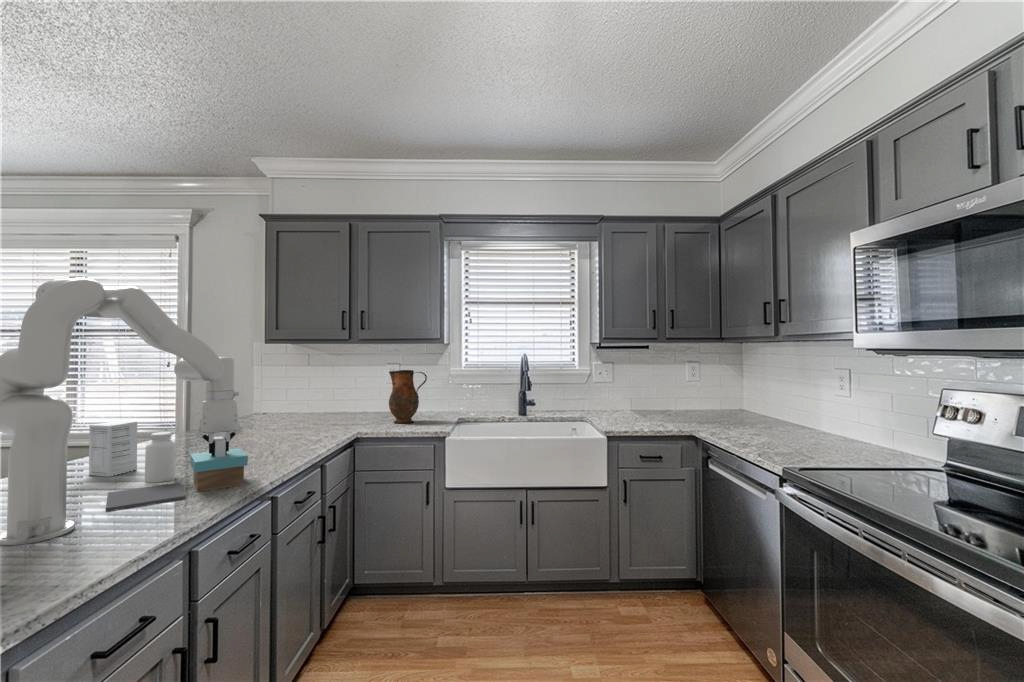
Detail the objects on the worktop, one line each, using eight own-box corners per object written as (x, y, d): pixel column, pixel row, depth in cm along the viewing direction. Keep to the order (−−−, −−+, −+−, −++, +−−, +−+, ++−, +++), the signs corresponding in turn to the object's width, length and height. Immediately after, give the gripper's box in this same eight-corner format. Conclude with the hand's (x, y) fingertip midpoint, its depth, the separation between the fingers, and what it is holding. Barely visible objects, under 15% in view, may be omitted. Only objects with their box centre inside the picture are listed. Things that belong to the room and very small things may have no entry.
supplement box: (138, 470, 163) (138, 421, 164) (109, 477, 155) (110, 425, 155) (116, 468, 166) (117, 420, 166) (87, 475, 157) (88, 424, 157)
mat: (184, 498, 134) (185, 495, 134) (105, 511, 123) (105, 508, 123) (180, 484, 147) (180, 482, 147) (108, 495, 136) (108, 492, 136)
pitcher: (389, 420, 277) (390, 369, 278) (426, 420, 281) (426, 369, 281) (387, 425, 261) (387, 370, 261) (426, 424, 265) (426, 370, 265)
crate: (243, 484, 148) (244, 458, 148) (197, 491, 140) (198, 464, 140) (236, 476, 157) (237, 452, 157) (193, 482, 149) (193, 457, 150)
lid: (247, 465, 148) (248, 439, 148) (194, 472, 139) (195, 445, 139) (239, 457, 158) (240, 433, 158) (190, 463, 150) (190, 437, 150)
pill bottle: (159, 484, 147) (160, 435, 148) (138, 482, 149) (138, 434, 149) (181, 477, 155) (182, 431, 155) (161, 475, 157) (162, 430, 157)
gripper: (246, 393, 157) (245, 449, 157) (187, 396, 147) (186, 456, 146) (250, 395, 151) (250, 453, 151) (190, 398, 141) (188, 460, 141)
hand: (218, 454), depth 149 cm, fingers closed on lid, 2 cm apart
